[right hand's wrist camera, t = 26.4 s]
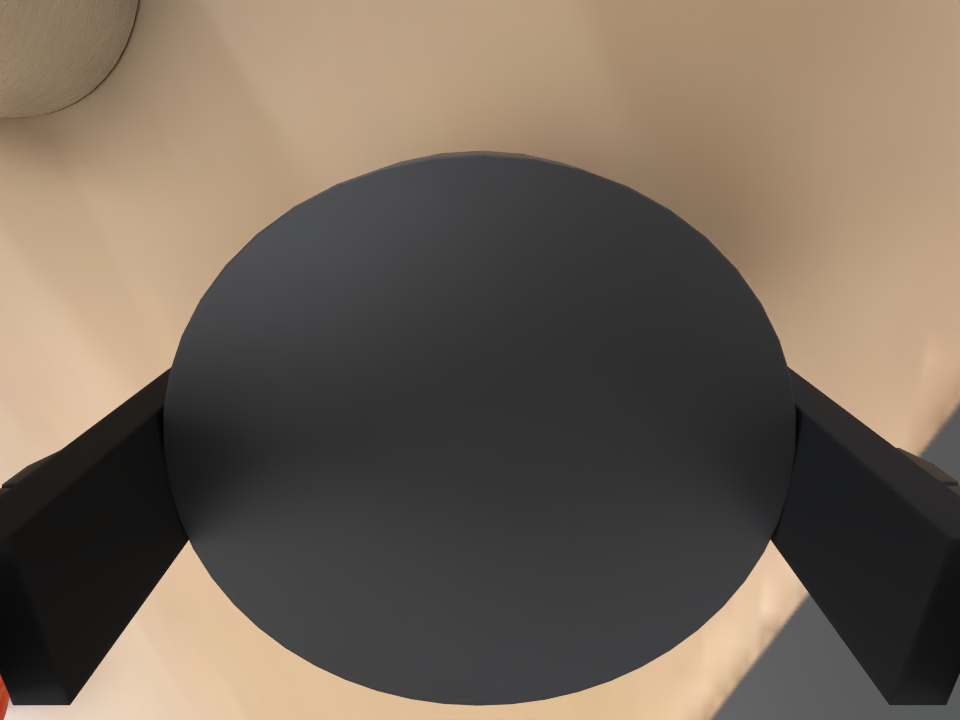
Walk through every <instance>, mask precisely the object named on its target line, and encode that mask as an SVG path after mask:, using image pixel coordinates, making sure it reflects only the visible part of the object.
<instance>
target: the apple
mask: <svg viewBox="0 0 960 720" xmlns="http://www.w3.org/2000/svg"><path fill="white" fill-rule="evenodd" d="M8 701H9V694H8V691H7V689H6V687H5V684H4V682H3V680H2V677H1V675H0V720H3V719H4V717H5V713H6V710H7V706H8Z"/></svg>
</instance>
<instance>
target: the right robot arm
mask: <svg viewBox="0 0 960 720" xmlns="http://www.w3.org/2000/svg"><path fill="white" fill-rule="evenodd" d="M170 370H171V368H170V369H168V370H167V371H166V372H164V373H163V374H162V375H160V376H159V377H158V378H156V379H155V380H154V381H152V382H151V383H150V384H148V385H147V386H146V387H144V388H143V389H142V390H140V391H139V392H138V393H136V394H135V395H134V396H132V397H131V398H130V399H128V400H127V401H126V402H124V403H123V404H122V405H120V406H119V407H118V408H116V409H115V410H114V411H112V412H111V413H110V414H108V415H107V416H106V417H104V418H103V419H102V420H100V421H99V422H98V423H96V424H95V425H94V426H92V427H91V428H90V429H88V430H87V431H86V432H84V433H83V434H82V435H80V436H79V437H78V438H76V439H75V440H74V441H72V442H71V443H70V444H68V445H67V446H66V447H64V448H63V449H62V450H60V451H58V452H56V453H54V454H52V455H50V456H48V457H46V458H43V459H41V460H39V461H37V462H35V463H33V464H31V465H29V466H27V467H26V468H24V469H23V470H21V471H20V472H19V473H17V474H16V475H15V476H13V477H12V478H11V479H9V480H8V481H6V482H5V483H4V484H2V488H0V675H1V677H2V680H3V682H4V684H5V687H6V689H7V691H8V694H9V696H10V698H11V701H12V703H13V705H70V704H71V703H72V702H73V700H74V699H75V697H76V696H77V695H78V693H79V692H80V690H81V689H82V688H83V686H84V685H85V683H86V682H87V681H88V679H89V678H90V677H91V675H92V674H93V672H94V671H95V670H96V668H97V667H98V665H99V664H100V663H101V661H102V660H103V658H104V657H105V656H106V654H107V653H108V651H109V650H110V649H111V647H112V646H113V645H114V643H115V642H116V640H117V639H118V638H119V636H120V635H121V633H122V632H123V631H124V629H125V628H126V626H127V625H128V624H129V622H130V621H131V619H132V618H133V617H134V615H135V614H136V613H137V611H138V610H139V608H140V607H141V606H142V604H143V603H144V601H145V600H146V599H147V597H148V596H149V594H150V593H151V592H152V590H153V589H154V588H155V586H156V585H157V583H158V582H159V581H160V579H161V578H162V576H163V575H164V574H165V572H166V571H167V569H168V568H169V567H170V565H171V564H172V562H173V561H174V560H175V558H176V557H177V556H178V554H179V553H180V551H181V550H182V549H183V547H184V546H185V544H186V543H187V542H188V540H189V538H188V536H187V534H186V532H185V530H184V528H183V525H182V523H181V521H180V519H179V516H178V513H177V510H176V507H175V503H174V499H173V495H172V491H171V487H170V483H169V479H168V474H167V469H166V463H165V457H164V450H163V411H164V405H165V398H166V392H167V386H168V380H169V374H170ZM788 370H789V374H790V377H791V383H792V390H793V397H794V404H795V411H796V453H795V459H794V465H793V471H792V475H791V480H790V484H789V489H788V493H787V497H786V500H785V504H784V507H783V510H782V513H781V516H780V520H779V522H778V524H777V526H776V528H775V530H774V532H773V535H772V537H771V541H772V542H773V544H774V545H775V546H776V548H777V549H778V550H779V552H780V553H781V555H782V556H783V557H784V559H785V560H786V562H787V563H788V564H789V566H790V567H791V569H792V570H793V571H794V573H795V574H796V576H797V577H798V578H799V580H800V581H801V582H802V584H803V585H804V587H805V588H806V589H807V591H808V592H809V594H810V595H811V596H812V598H813V599H814V601H815V602H816V603H817V605H818V606H819V608H820V609H821V610H822V612H823V613H824V614H825V616H826V617H827V619H828V620H829V621H830V623H831V624H832V626H833V627H834V628H835V630H836V631H837V633H838V634H839V635H840V637H841V638H842V640H843V641H844V642H845V644H846V645H847V646H848V648H849V649H850V651H851V652H852V653H853V655H854V656H855V658H856V659H857V660H858V662H859V663H860V664H861V666H862V667H863V669H864V670H865V671H866V673H867V674H868V676H869V677H870V678H871V680H872V681H873V683H874V684H875V685H876V687H877V688H878V690H879V691H880V692H881V694H882V695H883V697H884V698H885V699H886V701H887V702H888V704H889V705H946V704H947V702H948V699H949V697H950V695H951V692H952V690H953V688H954V685H955V683H956V681H957V678H958V676H959V674H960V486H959V485H958V482H957V481H956V480H954V479H953V478H951V477H950V476H949V475H947V474H946V473H945V472H943V471H942V470H940V469H939V468H938V467H936V466H935V465H934V464H932V463H930V462H928V461H926V460H923V459H921V458H919V457H917V456H915V455H913V454H911V453H909V452H906V451H904V450H902V449H900V448H895V447H894V446H892V445H891V444H890V443H888V442H887V441H886V440H884V439H883V438H882V437H880V436H879V435H878V434H876V433H875V432H874V431H872V430H871V429H870V428H868V427H867V426H866V425H865V424H863V423H862V422H861V421H859V420H858V419H857V418H855V417H854V416H853V415H851V414H850V413H849V412H847V411H846V410H845V409H843V408H842V407H841V406H839V405H838V404H837V403H835V402H834V401H833V400H831V399H830V398H829V397H827V396H826V395H825V394H823V393H822V392H821V391H819V390H818V389H817V388H815V387H814V386H813V385H811V384H810V383H809V382H807V381H806V380H805V379H803V378H802V377H801V376H799V375H798V374H797V373H795V372H794V371H793V370H791V369H790V368H789V367H788Z"/></svg>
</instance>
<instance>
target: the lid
mask: <svg viewBox="0 0 960 720" xmlns="http://www.w3.org/2000/svg"><path fill="white" fill-rule="evenodd" d="M163 450H164V457H165V463H166V469H167V474H168V479H169V483H170V487H171V491H172V495H173V499H174V503H175V507H176V510H177V513H178V516H179V519H180V521H181V523H182V525H183V528H184V530H185V532H186V534H187V536H188V538H189V540H190V543H191V545H192V547H193V549H194V551H195V552H196V554H197V555H198V557H199V558H200V560H201V562H202V563H203V565H204V566H205V568H206V569H207V571H208V573H209V574H210V576H211V577H212V579H213V580H214V581H215V582H216V583H217V585H218V586H219V587H220V588H221V589H222V591H223V592H224V593H225V594H226V596H227V597H228V598H229V599H230V600H231V602H232V603H233V604H234V605H235V606H236V607H237V608H238V609H239V610H240V611H241V612H242V613H244V614H245V615H246V616H247V617H248V618H249V619H250V620H251V621H252V622H253V623H254V624H255V625H256V626H257V627H258V628H260V629H261V630H262V631H264V632H265V633H266V634H268V635H269V636H270V637H272V638H273V639H274V640H276V641H277V642H278V643H280V644H281V645H282V646H284V647H285V648H286V649H288V650H290V651H291V652H293V653H295V654H296V655H298V656H300V657H301V658H303V659H305V660H306V661H308V662H310V663H311V664H313V665H315V666H317V667H319V668H321V669H323V670H326V671H328V672H330V673H332V674H334V675H336V676H339V677H341V678H343V679H345V680H348V681H351V682H353V683H356V684H359V685H362V686H365V687H368V688H371V689H373V690H376V691H380V692H384V693H388V694H392V695H396V696H401V697H405V698H409V699H414V700H421V701H428V702H435V703H442V704H458V705H477V706H478V705H502V704H516V703H524V702H531V701H538V700H546V699H550V698H554V697H558V696H563V695H567V694H571V693H576V692H579V691H582V690H585V689H588V688H591V687H594V686H597V685H600V684H603V683H606V682H609V681H612V680H614V679H616V678H618V677H620V676H623V675H625V674H627V673H629V672H632V671H634V670H636V669H638V668H640V667H642V666H644V665H646V664H647V663H649V662H651V661H653V660H654V659H656V658H658V657H659V656H661V655H663V654H665V653H666V652H668V651H670V650H671V649H673V648H674V647H675V646H677V645H678V644H679V643H681V642H682V641H684V640H685V639H686V638H688V637H689V636H690V635H692V634H693V633H694V632H696V631H697V630H698V629H699V628H701V627H702V626H703V625H704V624H705V623H706V622H707V621H708V620H709V619H710V618H711V617H712V616H714V615H715V614H716V613H717V612H718V611H719V610H720V609H721V608H722V607H723V606H724V605H725V604H726V603H727V601H728V600H729V599H730V598H731V597H732V596H733V594H734V593H735V592H736V591H737V590H738V589H739V587H740V586H741V585H742V584H743V583H744V582H745V580H746V579H747V577H748V576H749V574H750V573H751V571H752V570H753V568H754V567H755V565H756V564H757V562H758V560H759V559H760V557H761V556H762V554H763V553H764V551H765V549H766V547H767V545H768V543H769V541H770V539H771V537H772V535H773V532H774V530H775V528H776V526H777V524H778V522H779V520H780V516H781V513H782V510H783V507H784V504H785V500H786V497H787V493H788V489H789V484H790V480H791V475H792V471H793V465H794V459H795V453H796V411H795V404H794V397H793V390H792V383H791V377H790V374H789V370H788V367H787V364H786V361H785V357H784V354H783V351H782V348H781V344H780V341H779V339H778V337H777V335H776V333H775V331H774V329H773V327H772V324H771V322H770V320H769V318H768V316H767V314H766V312H765V310H764V308H763V306H762V304H761V303H760V301H759V300H758V298H757V297H756V296H755V294H754V293H753V291H752V290H751V288H750V287H749V286H748V284H747V283H746V281H745V280H744V279H743V277H742V276H741V274H740V273H739V271H738V270H737V269H736V268H735V267H734V266H733V265H732V264H731V263H730V262H729V261H728V259H727V258H726V257H725V256H724V255H723V254H722V253H721V252H720V251H719V250H718V249H717V248H716V247H715V246H714V245H713V244H712V243H711V242H710V241H709V240H708V239H707V238H706V237H705V236H704V235H702V234H701V233H700V232H698V231H697V230H696V229H694V228H693V227H692V226H690V225H689V224H688V223H686V222H685V221H684V220H683V219H681V218H680V217H679V216H677V215H676V214H675V213H673V212H672V211H671V210H669V209H667V208H666V207H664V206H662V205H660V204H658V203H657V202H655V201H653V200H651V199H649V198H647V197H646V196H644V195H642V194H640V193H638V192H637V191H635V190H633V189H631V188H629V187H627V186H625V185H622V184H619V183H617V182H614V181H611V180H609V179H606V178H603V177H601V176H598V175H595V174H593V173H590V172H587V171H585V170H582V169H579V168H576V167H573V166H570V165H567V164H564V163H560V162H556V161H551V160H547V159H542V158H538V157H533V156H529V155H524V154H515V153H502V152H490V151H473V152H456V153H441V154H436V155H431V156H427V157H422V158H417V159H412V160H407V161H402V162H399V163H396V164H393V165H390V166H387V167H384V168H381V169H379V170H376V171H373V172H370V173H367V174H365V175H362V176H359V177H356V178H353V179H351V180H348V181H345V182H342V183H339V184H337V185H335V186H333V187H331V188H329V189H327V190H325V191H323V192H321V193H319V194H318V195H316V196H314V197H312V198H310V199H308V200H306V201H304V202H302V203H301V204H299V205H297V206H295V207H293V208H292V209H291V210H289V211H288V212H287V213H285V214H284V215H282V216H281V217H280V218H278V219H277V220H276V221H274V222H273V223H272V224H270V225H269V226H267V227H266V228H265V229H263V230H262V231H261V232H259V233H258V234H257V235H256V236H255V237H254V238H253V239H252V240H251V241H250V242H249V243H248V244H247V245H246V246H245V247H244V248H243V249H242V250H241V251H240V252H239V253H238V254H237V255H236V256H235V257H234V258H233V259H232V260H231V261H230V262H229V263H228V264H227V265H226V266H225V267H224V268H223V270H222V271H221V272H220V274H219V275H218V277H217V278H216V279H215V281H214V282H213V283H212V285H211V286H210V287H209V289H208V290H207V292H206V293H205V294H204V296H203V297H202V298H201V300H200V302H199V304H198V306H197V307H196V309H195V311H194V313H193V315H192V317H191V319H190V321H189V323H188V325H187V327H186V329H185V331H184V333H183V335H182V337H181V340H180V343H179V346H178V349H177V352H176V355H175V358H174V361H173V364H172V367H171V370H170V374H169V380H168V386H167V392H166V398H165V405H164V411H163Z"/></svg>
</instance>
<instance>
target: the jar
mask: <svg viewBox="0 0 960 720" xmlns="http://www.w3.org/2000/svg"><path fill="white" fill-rule="evenodd" d="M137 6H138V0H0V117H9V118H20V117H31V116H39V115H43V114H47V113H51V112H55V111H58V110H60V109H62V108H64V107H67V106H69V105H71V104H74V103H75V102H77V101H78V100H80V99H81V98H83V97H84V96H86V95H87V94H89V93H90V92H91V91H92V90H93V89H94V88H95V87H97V86H98V85H99V84H100V83H101V82H102V81H103V80H104V79H105V78H106V76H107V75H108V74H109V72H110V71H111V70H112V68H113V67H114V66H115V65H116V63H117V61H118V59H119V58H120V56H121V54H122V52H123V50H124V48H125V46H126V44H127V41H128V39H129V36H130V33H131V30H132V28H133V25H134V20H135V15H136V11H137Z"/></svg>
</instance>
